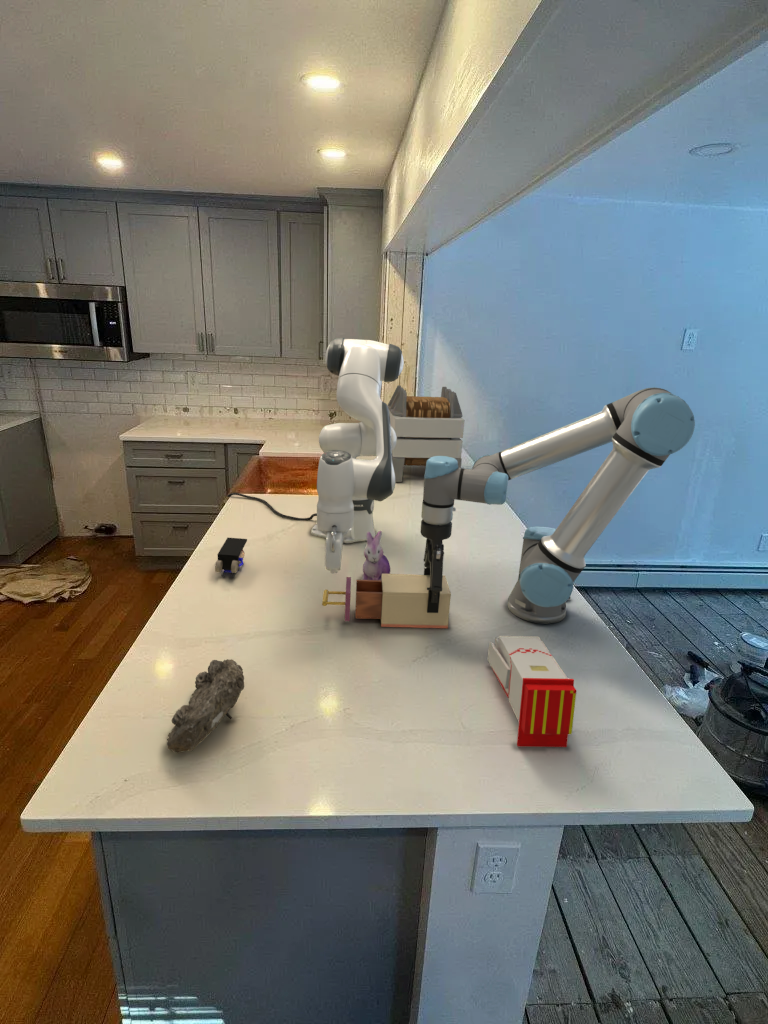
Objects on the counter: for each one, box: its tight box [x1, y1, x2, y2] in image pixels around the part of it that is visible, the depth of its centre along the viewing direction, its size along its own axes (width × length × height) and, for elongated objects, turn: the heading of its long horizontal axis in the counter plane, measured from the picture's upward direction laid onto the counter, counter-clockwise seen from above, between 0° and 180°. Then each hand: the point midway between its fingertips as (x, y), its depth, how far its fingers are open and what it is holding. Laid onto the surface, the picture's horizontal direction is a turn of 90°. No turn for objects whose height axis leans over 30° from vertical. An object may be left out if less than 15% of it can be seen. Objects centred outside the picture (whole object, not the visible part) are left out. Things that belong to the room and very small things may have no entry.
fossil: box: [166, 658, 245, 754], centre depth 106 cm, size 22×10×15 cm
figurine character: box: [214, 537, 248, 578], centre depth 166 cm, size 7×8×15 cm
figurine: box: [361, 530, 391, 580], centre depth 162 cm, size 9×10×15 cm
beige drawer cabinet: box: [380, 573, 452, 629], centre depth 145 cm, size 17×10×10 cm, turn 92°
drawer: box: [321, 576, 383, 622], centre depth 144 cm, size 21×9×8 cm, turn 92°
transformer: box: [387, 384, 465, 483], centre depth 268 cm, size 34×33×41 cm
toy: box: [486, 635, 577, 748], centre depth 115 cm, size 12×13×30 cm
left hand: (334, 571), depth 141 cm, fingers closed
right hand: (430, 601), depth 145 cm, fingers open, 10 cm apart
